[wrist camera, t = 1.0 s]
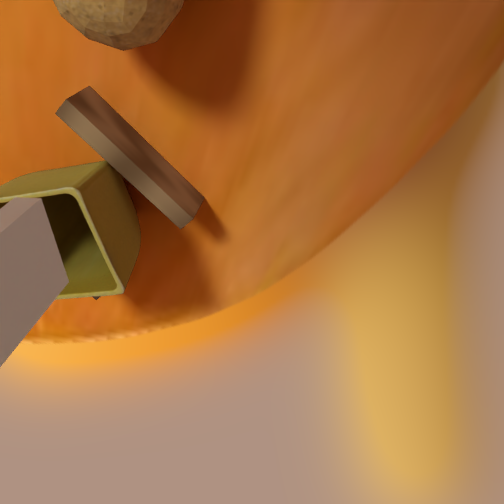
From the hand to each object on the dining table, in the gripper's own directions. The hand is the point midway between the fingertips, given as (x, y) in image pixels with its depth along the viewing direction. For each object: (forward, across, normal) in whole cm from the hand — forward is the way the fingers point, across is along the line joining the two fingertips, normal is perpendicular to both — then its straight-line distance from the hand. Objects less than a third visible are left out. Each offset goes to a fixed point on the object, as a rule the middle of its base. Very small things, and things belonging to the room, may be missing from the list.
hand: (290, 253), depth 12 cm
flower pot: (+24, -18, -11) cm, 32 cm away
